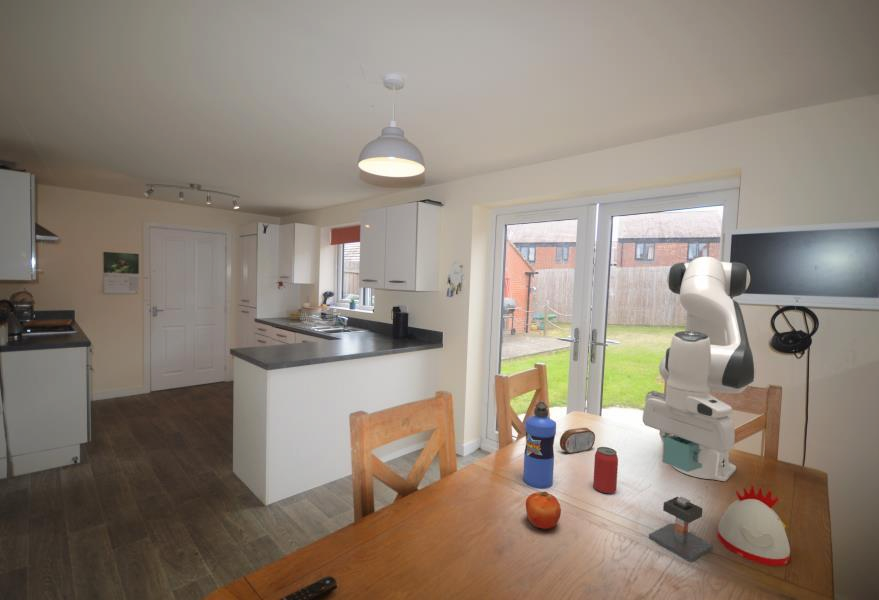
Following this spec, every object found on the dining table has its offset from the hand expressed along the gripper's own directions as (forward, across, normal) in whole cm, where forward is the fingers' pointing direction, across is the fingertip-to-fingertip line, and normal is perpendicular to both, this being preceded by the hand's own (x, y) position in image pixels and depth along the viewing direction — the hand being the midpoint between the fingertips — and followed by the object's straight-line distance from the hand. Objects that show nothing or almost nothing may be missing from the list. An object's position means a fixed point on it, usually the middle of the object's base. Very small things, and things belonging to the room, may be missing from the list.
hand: (682, 455), depth 99 cm
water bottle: (+22, -38, -10) cm, 45 cm away
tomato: (+22, -20, -24) cm, 39 cm away
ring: (+14, +1, 0) cm, 14 cm away
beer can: (+22, -26, +5) cm, 34 cm away
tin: (+22, -49, +20) cm, 57 cm away
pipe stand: (+22, +1, 0) cm, 22 cm away
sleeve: (+2, 0, 0) cm, 2 cm away
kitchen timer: (+22, +9, +16) cm, 28 cm away
